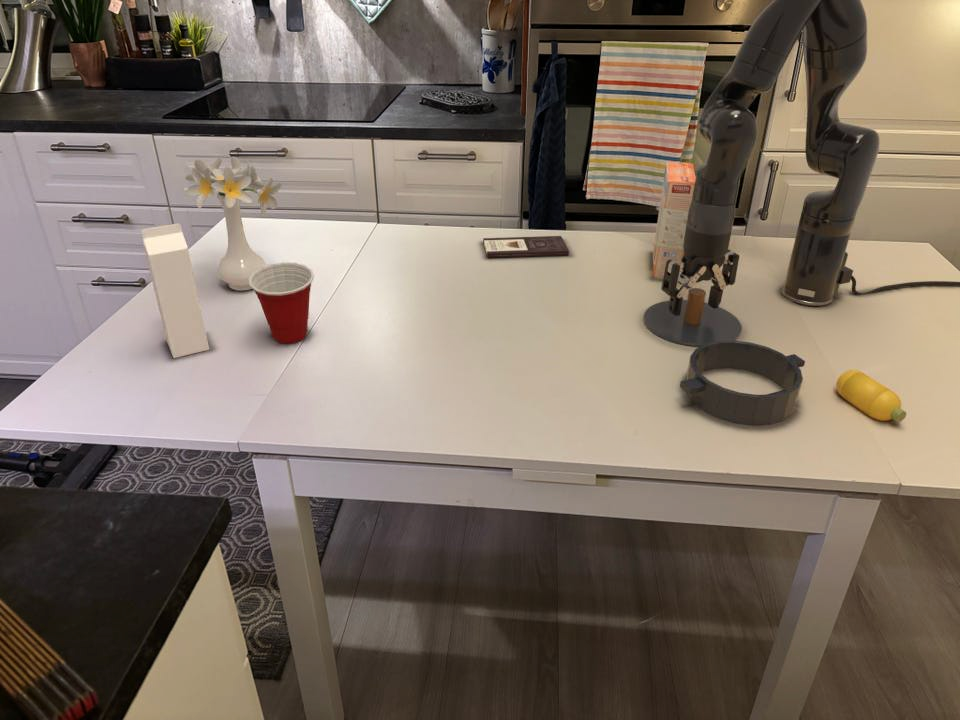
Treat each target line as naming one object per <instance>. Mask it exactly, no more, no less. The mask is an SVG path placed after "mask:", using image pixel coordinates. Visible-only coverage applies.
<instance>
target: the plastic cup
mask: <svg viewBox="0 0 960 720" xmlns="http://www.w3.org/2000/svg"><path fill="white" fill-rule="evenodd" d="M314 278H315V274H314V272H313V269H311V268H310V267H309V266H307V265H305V264H302V263H298V262H288V261H287V262H285V261H283V262H275V263H271V264H268V265H267V264H266V266H264V267H262V268H259V269H258V270H256V271H255V272H254V273H252V275H251V276H250V278H249V283H250V286H251V288H252V289H251V290H253V291H254V293H255V295H256V297H257V299H258V301H259V303H260V306H261V308H262V312H263V314H264V317H265V320H266V322H267V325H268V326H269V330H270V333H271V335H272V338H273V339H274V341H275V342H277V343H279V344H283V345H284V344H285V345H291V344H296V343H299V342H302V341H303V340H304V339H305V338H306V336H307V333H308V323H309V322H308V321H309V314H310V297H311V287H312V283H313V281H314Z"/></svg>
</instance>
